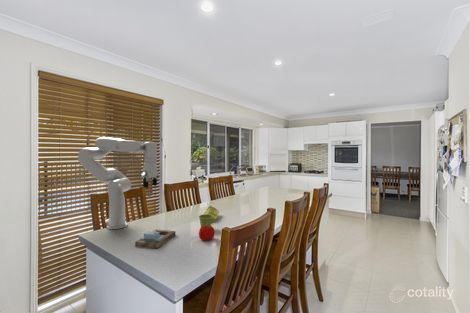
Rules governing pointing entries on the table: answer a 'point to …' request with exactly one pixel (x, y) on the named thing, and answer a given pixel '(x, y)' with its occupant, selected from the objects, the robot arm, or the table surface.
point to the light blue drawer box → (151, 236)
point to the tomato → (206, 232)
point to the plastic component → (212, 212)
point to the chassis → (149, 244)
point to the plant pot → (205, 219)
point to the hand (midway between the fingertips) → (150, 186)
